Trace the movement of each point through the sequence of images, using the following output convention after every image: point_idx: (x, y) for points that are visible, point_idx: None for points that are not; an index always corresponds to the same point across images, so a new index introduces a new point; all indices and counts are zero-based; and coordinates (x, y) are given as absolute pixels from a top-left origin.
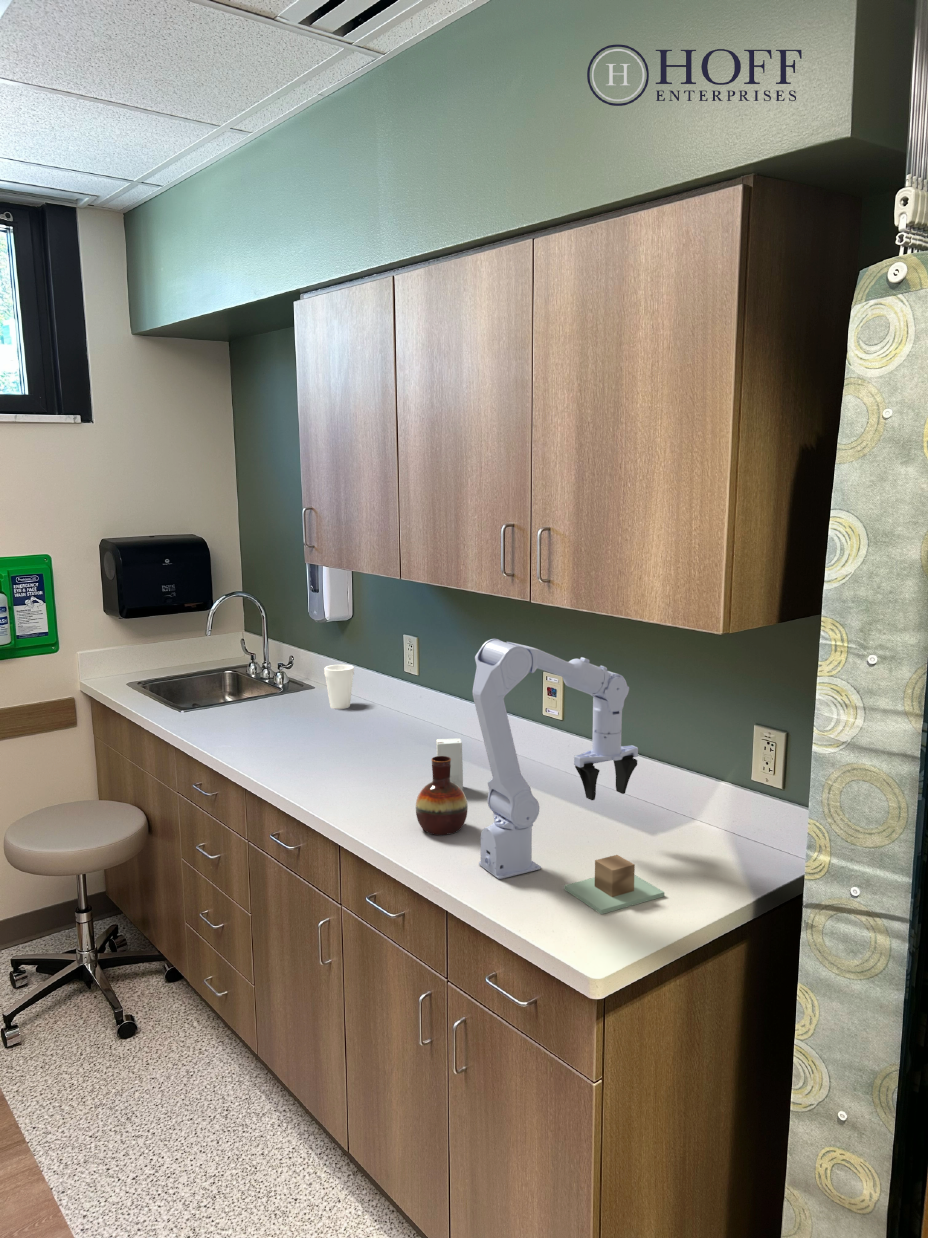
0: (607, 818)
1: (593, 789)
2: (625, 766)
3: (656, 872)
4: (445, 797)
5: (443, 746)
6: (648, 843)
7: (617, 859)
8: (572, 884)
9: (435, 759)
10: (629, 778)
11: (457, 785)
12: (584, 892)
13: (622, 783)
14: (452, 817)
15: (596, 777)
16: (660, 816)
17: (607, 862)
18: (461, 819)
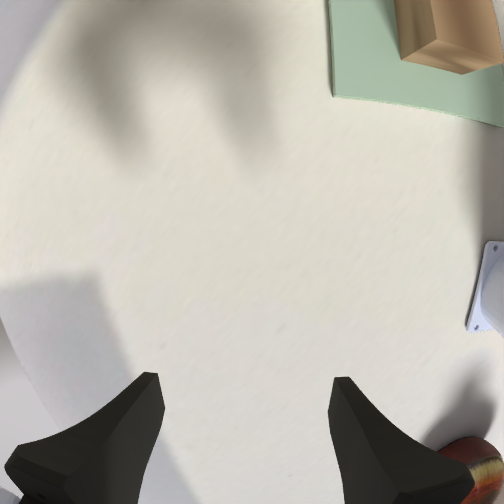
0: None
1: (369, 409)
2: (96, 481)
3: (245, 58)
4: (496, 482)
5: None
6: (133, 237)
7: (451, 17)
8: (494, 117)
9: None
10: (96, 412)
11: None
12: (490, 71)
13: (140, 412)
14: (483, 453)
15: (387, 458)
16: (38, 345)
17: (484, 27)
18: (462, 455)
